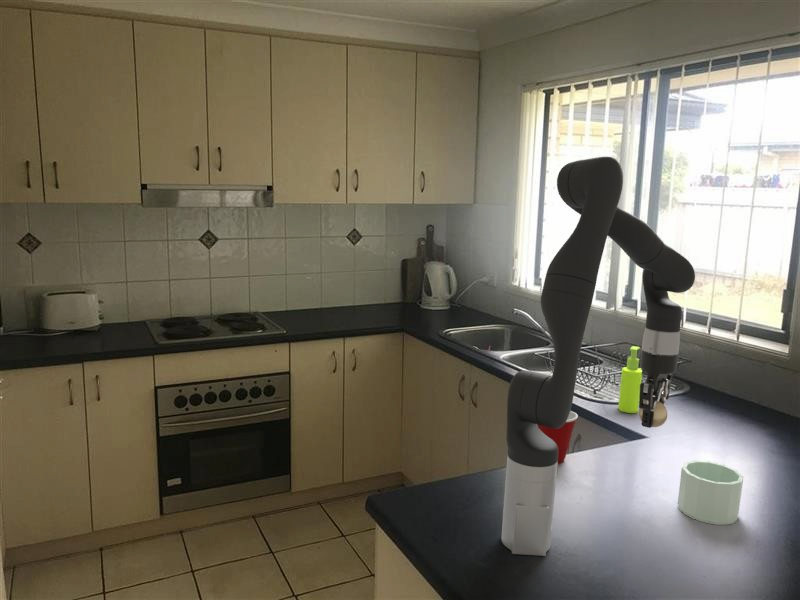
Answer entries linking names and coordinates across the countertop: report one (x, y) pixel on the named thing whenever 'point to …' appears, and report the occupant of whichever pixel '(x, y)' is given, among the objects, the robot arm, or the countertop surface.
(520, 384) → the robot arm
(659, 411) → the wooden ball
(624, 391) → the soap dispenser
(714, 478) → the ceramic cup
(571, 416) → the plastic cup
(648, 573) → the countertop surface
